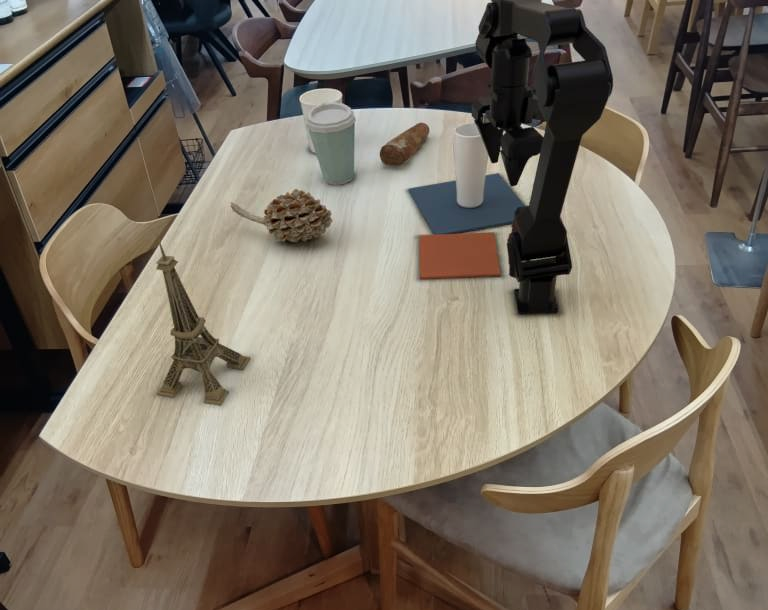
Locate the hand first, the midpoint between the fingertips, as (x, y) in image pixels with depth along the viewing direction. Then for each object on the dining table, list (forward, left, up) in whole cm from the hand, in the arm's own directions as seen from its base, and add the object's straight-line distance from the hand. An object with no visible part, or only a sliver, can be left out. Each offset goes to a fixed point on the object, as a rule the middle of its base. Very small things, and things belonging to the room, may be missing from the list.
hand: (503, 173), depth 116 cm
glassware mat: (+14, +5, -13) cm, 20 cm away
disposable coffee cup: (+28, +33, -13) cm, 45 cm away
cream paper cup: (+45, +37, -13) cm, 60 cm away
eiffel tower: (-36, +48, -13) cm, 61 cm away
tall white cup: (+14, +5, -13) cm, 19 cm away
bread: (+40, +18, -13) cm, 46 cm away
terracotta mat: (-5, +8, -13) cm, 16 cm away
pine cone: (+4, +42, -13) cm, 44 cm away
